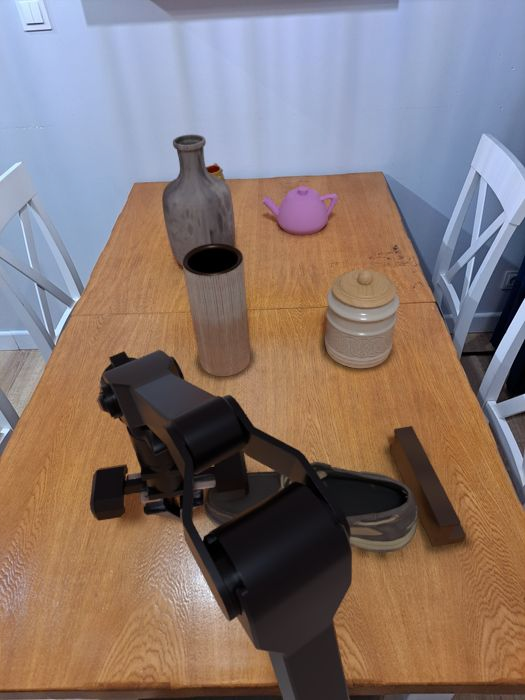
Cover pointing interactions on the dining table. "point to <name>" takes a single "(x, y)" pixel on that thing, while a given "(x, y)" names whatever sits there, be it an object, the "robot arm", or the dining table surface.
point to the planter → (218, 307)
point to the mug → (216, 171)
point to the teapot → (302, 210)
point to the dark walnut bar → (426, 489)
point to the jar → (361, 318)
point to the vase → (196, 202)
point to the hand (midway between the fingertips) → (181, 516)
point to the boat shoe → (353, 498)
